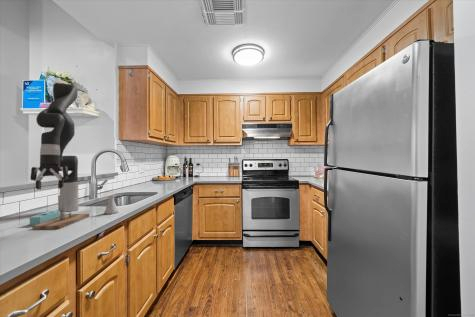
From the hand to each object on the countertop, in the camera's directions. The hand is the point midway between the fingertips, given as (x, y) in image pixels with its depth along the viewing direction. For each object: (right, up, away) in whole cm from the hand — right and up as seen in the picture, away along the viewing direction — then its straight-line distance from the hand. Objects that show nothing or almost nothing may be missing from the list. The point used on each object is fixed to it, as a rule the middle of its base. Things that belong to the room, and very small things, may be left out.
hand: (49, 188), depth 114 cm
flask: (+16, -17, +26) cm, 35 cm away
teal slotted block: (-9, -18, +9) cm, 21 cm away
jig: (+1, -18, +7) cm, 19 cm away
